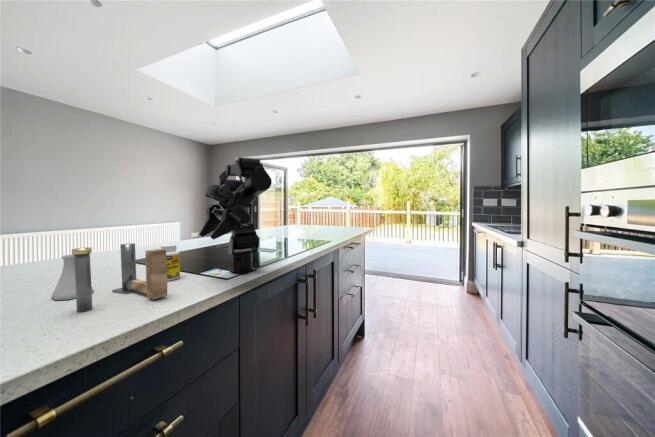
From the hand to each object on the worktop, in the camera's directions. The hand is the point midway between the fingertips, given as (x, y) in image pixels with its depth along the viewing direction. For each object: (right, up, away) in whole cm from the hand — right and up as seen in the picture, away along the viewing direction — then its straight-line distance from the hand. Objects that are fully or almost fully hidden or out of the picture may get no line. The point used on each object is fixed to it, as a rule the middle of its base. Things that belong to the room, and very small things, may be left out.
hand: (205, 237), depth 69 cm
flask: (-30, -14, -5) cm, 34 cm away
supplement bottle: (-15, -13, +9) cm, 22 cm away
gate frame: (-19, -14, -7) cm, 25 cm away
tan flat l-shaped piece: (-12, -13, -5) cm, 19 cm away
